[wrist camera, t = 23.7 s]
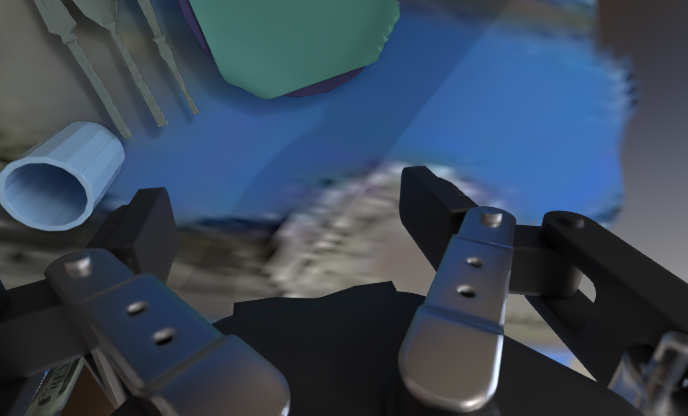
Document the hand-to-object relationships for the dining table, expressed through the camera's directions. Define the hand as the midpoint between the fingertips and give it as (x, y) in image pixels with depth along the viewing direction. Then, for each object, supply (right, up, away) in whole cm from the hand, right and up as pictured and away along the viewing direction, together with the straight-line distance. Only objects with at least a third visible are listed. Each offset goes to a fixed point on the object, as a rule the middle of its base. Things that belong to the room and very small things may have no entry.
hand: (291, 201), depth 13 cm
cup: (-22, +5, +23) cm, 33 cm away
